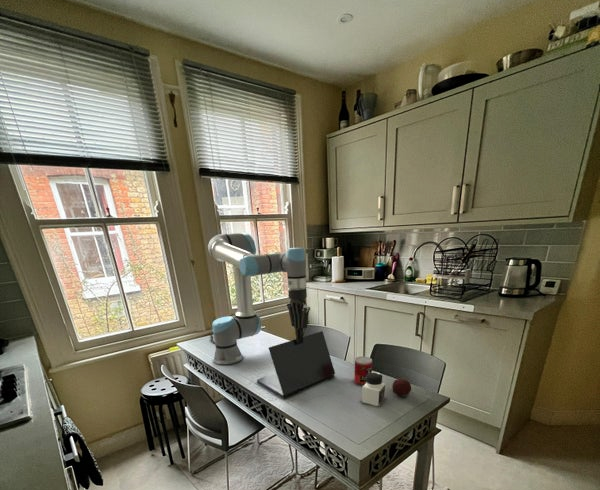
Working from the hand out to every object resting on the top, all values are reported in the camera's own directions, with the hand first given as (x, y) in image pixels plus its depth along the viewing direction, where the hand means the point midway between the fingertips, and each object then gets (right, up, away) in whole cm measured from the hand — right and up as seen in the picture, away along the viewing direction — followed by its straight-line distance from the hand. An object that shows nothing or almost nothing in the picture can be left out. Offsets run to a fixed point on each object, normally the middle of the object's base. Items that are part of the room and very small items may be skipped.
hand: (299, 343), depth 138 cm
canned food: (+29, -17, +7) cm, 34 cm away
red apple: (+42, -22, -6) cm, 48 cm away
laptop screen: (+2, -8, +2) cm, 9 cm away
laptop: (-2, -17, +11) cm, 20 cm away
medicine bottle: (+30, -24, -9) cm, 40 cm away
